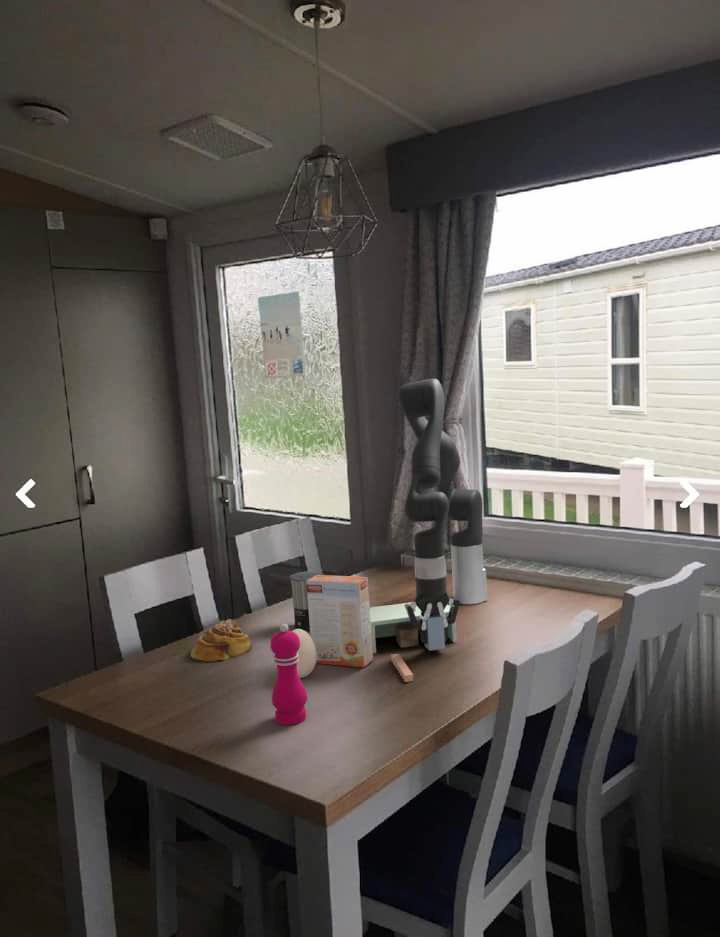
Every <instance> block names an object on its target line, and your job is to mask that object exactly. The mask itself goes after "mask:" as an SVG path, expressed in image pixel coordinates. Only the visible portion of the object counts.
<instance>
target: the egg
mask: <svg viewBox="0 0 720 937" xmlns="http://www.w3.org/2000/svg"><path fill="white" fill-rule="evenodd" d="M291 631H292V632H294V633H296V634H297V635H298V637H299V639H300V648H299V650H298V651H297V653H298V654H299V656H298V658H299V661H298V662H297V673H298V676H299V678H300V679H302V678H305V677H307V676H309V675H310V674H311V673H312V672H313V670H314V669H315V666H316V664H317V663H316V659H317V653H316V647H315V644H314V642H313V640H312V638H311V636H310V633H308V631H304V630H302V629H295V628H294V629H293V630H291Z"/></svg>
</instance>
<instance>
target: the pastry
mask: <svg viewBox="0 0 720 937" xmlns="http://www.w3.org/2000/svg"><path fill="white" fill-rule="evenodd" d="M252 647H253V646H252V642H251V640H250V637H249V635H248V634H246V633H244V632H243V631H242V629H241V628H240V626H239V625H238V624H237V623H236V622H235V620H232V619H230V618H229V619H226V620H221V621H219V622H218V623H216V624H214V625H213V627H210V628H209V629H208V630H206V631H204V632H203V633H202V635H200V636H199V637H198V639H197V640H196V643H195V644H194V646H193V649H192V650H191V652H190V658H191V657H192V658H191V659H193V658H195V659H194V660H196V659H198V660H197V661H199V660H205V661H204V662H207V661H209V662H218V661H217V660H224V661H226V659H227V660H228V658H229V659H230V657H231V658H235V656H236V657H239V655H240V656H242V655H245V653H246V654H247V653H249V652H251V649H252Z"/></svg>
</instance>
